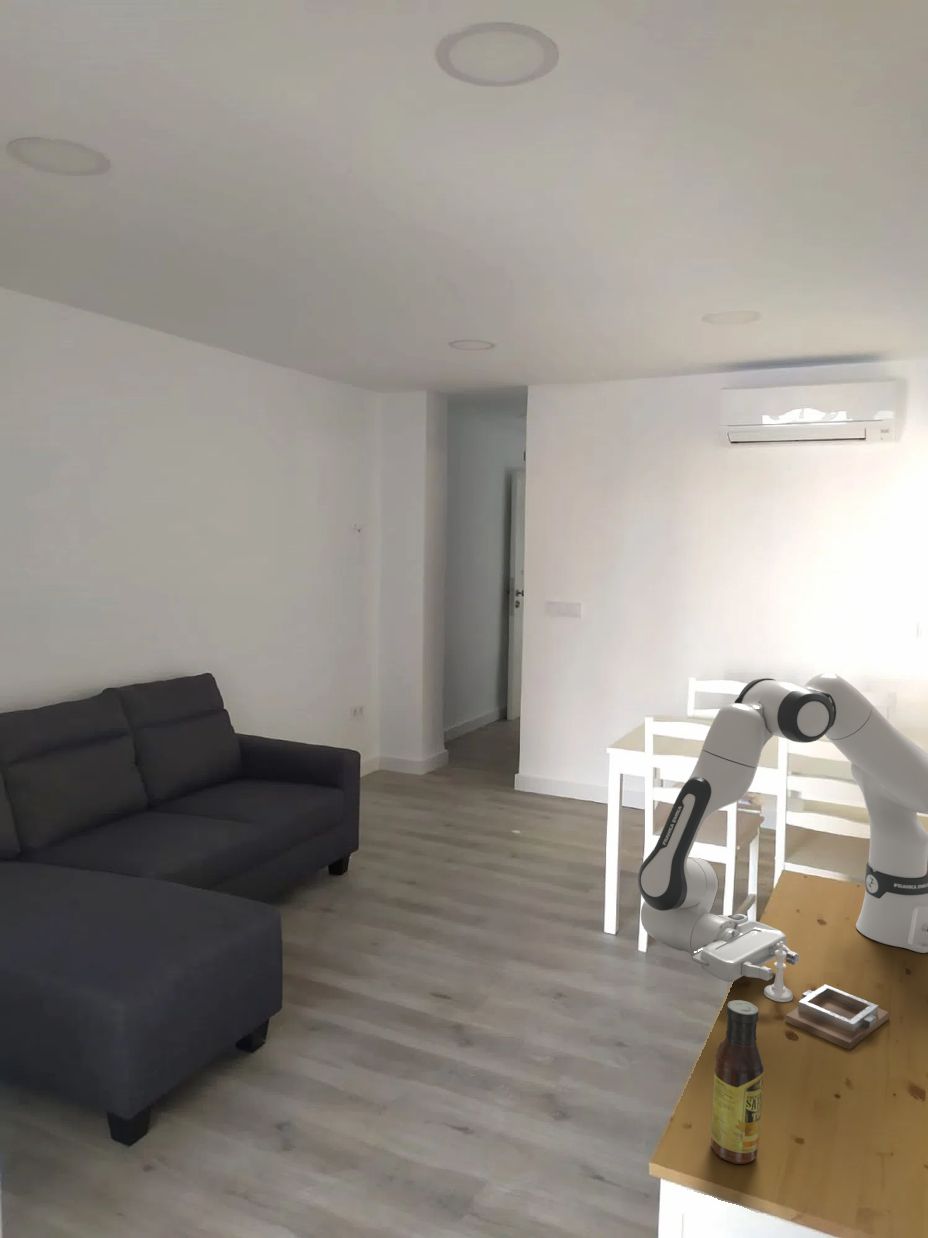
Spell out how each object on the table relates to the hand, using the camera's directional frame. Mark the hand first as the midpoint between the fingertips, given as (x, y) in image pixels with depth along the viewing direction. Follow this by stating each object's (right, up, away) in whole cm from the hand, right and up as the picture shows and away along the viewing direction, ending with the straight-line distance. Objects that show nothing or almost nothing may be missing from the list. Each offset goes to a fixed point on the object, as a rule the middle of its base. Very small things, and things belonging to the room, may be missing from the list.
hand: (784, 967), depth 161 cm
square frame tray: (+7, -5, -7) cm, 11 cm away
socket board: (+7, -6, -7) cm, 12 cm away
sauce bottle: (-22, -9, -41) cm, 47 cm away
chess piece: (-1, -6, +1) cm, 6 cm away
